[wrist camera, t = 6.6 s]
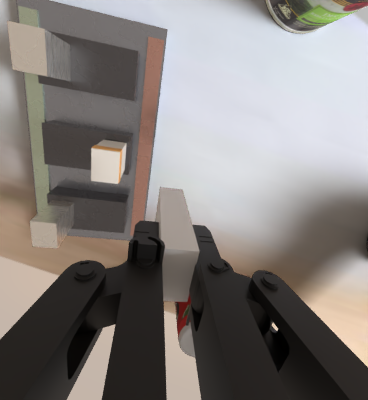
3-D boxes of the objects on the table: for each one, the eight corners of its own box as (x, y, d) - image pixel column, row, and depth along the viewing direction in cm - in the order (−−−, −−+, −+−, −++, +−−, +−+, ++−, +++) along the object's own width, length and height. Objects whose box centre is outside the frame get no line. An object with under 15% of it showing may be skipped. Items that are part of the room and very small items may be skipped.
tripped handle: (127, 142, 24) (120, 152, 20) (125, 170, 25) (118, 184, 21) (103, 139, 24) (90, 147, 19) (102, 166, 25) (90, 181, 20)
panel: (166, 33, 24) (171, -1, 16) (142, 235, 34) (138, 278, 26) (24, -1, 22) (-57, -63, 13) (43, 227, 32) (4, 271, 24)
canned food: (174, 261, 37) (181, 321, 27) (221, 261, 38) (244, 319, 28) (171, 295, 40) (176, 361, 30) (215, 294, 41) (233, 357, 31)
